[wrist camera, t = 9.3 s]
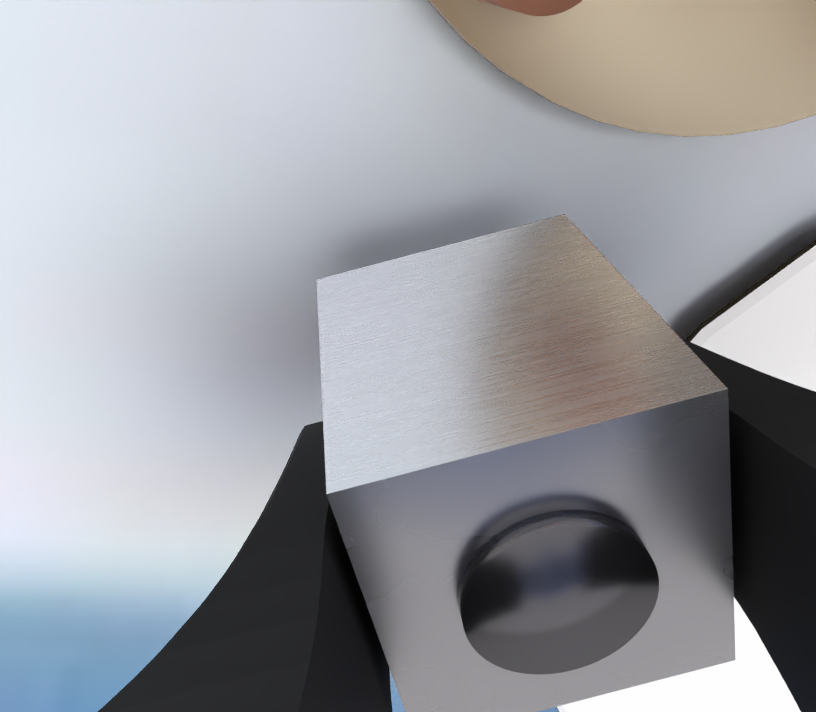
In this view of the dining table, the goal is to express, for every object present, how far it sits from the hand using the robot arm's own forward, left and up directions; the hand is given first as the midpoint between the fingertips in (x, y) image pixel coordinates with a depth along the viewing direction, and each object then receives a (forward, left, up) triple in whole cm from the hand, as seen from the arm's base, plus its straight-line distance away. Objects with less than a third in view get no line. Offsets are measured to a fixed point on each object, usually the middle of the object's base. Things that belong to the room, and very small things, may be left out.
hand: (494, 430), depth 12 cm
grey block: (0, 0, -3) cm, 3 cm away
